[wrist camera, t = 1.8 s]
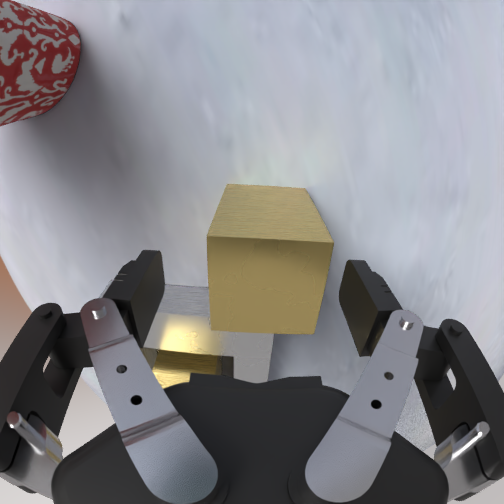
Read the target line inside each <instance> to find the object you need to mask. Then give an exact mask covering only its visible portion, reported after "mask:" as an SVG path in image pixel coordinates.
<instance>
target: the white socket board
mask: <svg viewBox="0 0 504 504" xmlns="http://www.w3.org/2000/svg"><path fill="white" fill-rule="evenodd" d="M112 282H113V280H111V281H110V282H109V284H108V285H107V286H106V288H105V289H104V291H103V292H102V294H101V295H100V296H99V298H102V297H103V295H104V294H105V292H106V291H107V289H108V288H109V286H110V285H111V283H112ZM273 338H274V334H270V333H246V332H228V331H214V330H211V323H210V305H209V288H203V287H188V286H175V285H165V291H164V295H163V298H162V300H161V303H160V305H159V308H158V310H157V313H156V315H155V318H154V320H153V323H152V325H151V328H150V331H149V333H148V336H147V338H146V341H145V344H144V346H143V349H142V348H140V350H141V352H142V354H143V355H144V357H145V359H146V361H147V363H148V365H149V366H150V368H151V370H153V367H154V364H155V361H156V358H157V352H156V349H161V350H169V351H178V352H187V353H197V354H208V355H220V356H234V378H235V379H239V380H243V381H247V382H252V383H263V382H267V380H268V373H269V367H270V360H271V353H272V345H273Z"/></svg>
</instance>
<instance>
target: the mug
mask: <svg viewBox="0 0 504 504" xmlns="http://www.w3.org/2000/svg"><path fill="white" fill-rule="evenodd" d="M80 45H81V43H80V37H79V34H78V31H77V29H76V28H75V26H74V25H73V24H72V23H71V22H69V21H67V20H65V19H63V18H61V17H58V16H56V15H53V14H50V13H47V12H44V11H42V10H39V9H36V8H33V7H30V6H27V5H24V4H21V3H18V2H15V1H11V0H0V126H3V125H6V124H9V123H12V122H16V121H19V120H24V119H28V118H31V117H34V116H37V115H40V114H43V113H45V112H47V111H48V110H50V109H51V108H52V107H53V106H55V105H56V104H57V103H58V102H59V101H60V99H61V98H62V97H63V96H64V94H65V93H66V91H67V90H68V88H69V86H70V85H71V83H72V81H73V79H74V76H75V73H76V70H77V67H78V64H79V59H80Z"/></svg>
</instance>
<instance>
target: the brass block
mask: <svg viewBox="0 0 504 504" xmlns="http://www.w3.org/2000/svg"><path fill="white" fill-rule="evenodd" d="M333 246H334V242H333V240H332V238H331V236H330V234H329V232H328V230H327V228H326V226H325V224H324V222H323V220H322V218H321V216H320V215H319V213H318V211H317V209H316V207H315V205H314V203H313V202H312V200H311V198H310V196H309V194H308V192H307V191H306V189H305V188H292V187H277V186H260V185H239V184H227V185H226V188H225V190H224V193H223V195H222V198H221V200H220V203H219V205H218V208H217V210H216V213H215V216H214V218H213V221H212V223H211V226H210V229H209V231H208V234H207V261H208V285H209V305H210V323H211V330H214V331H228V332H246V333H270V334H314V331H315V327H316V323H317V319H318V315H319V311H320V307H321V302H322V298H323V294H324V289H325V285H326V280H327V275H328V271H329V266H330V261H331V256H332V251H333Z"/></svg>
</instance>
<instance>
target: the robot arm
mask: <svg viewBox="0 0 504 504" xmlns="http://www.w3.org/2000/svg"><path fill="white" fill-rule="evenodd" d="M164 291H165V279H164V271H163V263H162V255H161V252H160V251H155V250H143V251H142V252H141V253H140V255H139V256H138V258H137V259H136V261H132V260H131V261H130V262H129V263H127V264H126V265H124V266H123V267H122V268H121V270H120V271H119V273H118V275H117V276H116V277H115V279H114V280H113V282H112V283H111V285H110V286H109V288H108V289H107V291H106V292H105V294H104V295H103V297H102V298H97V299H93V300H91V301H89V302H87V303H86V304H85V305H84V306H83V307H82V309H81V311H80V312H79V313H70V314H63V312H62V309H61V307H60V306H59V305H58V304H56V303H46V304H43V305H41V306H39V307H38V308H36V309H35V310H34V311H33V312H32V314H31V315H30V317H29V318H28V320H27V321H26V323H25V324H24V326H23V327H22V329H21V330H20V332H19V333H18V334H17V336H16V338H15V339H14V341H13V342H12V344H11V345H10V347H9V349H8V350H7V352H6V354H5V355H4V357H3V359H2V360H1V362H0V477H1V478H3V479H4V480H6V481H8V482H9V483H11V484H13V485H16V486H17V487H19V488H21V489H23V490H24V491H26V492H28V493H39V494H41V495H43V496H45V497H48V498H50V499H52V500H53V501H54V504H447V502H449V501H451V500H458V501H462V500H465V499H467V498H469V497H471V496H473V495H475V494H476V493H478V492H480V491H482V490H483V489H485V488H487V487H488V486H490V485H491V484H493V483H495V482H496V481H498V480H499V479H501V478H502V477H504V393H503V390H502V388H501V387H500V385H499V383H498V381H497V379H496V377H495V375H494V373H493V371H492V370H491V368H490V366H489V364H488V362H487V361H486V359H485V357H484V355H483V354H482V352H481V350H480V349H479V347H478V345H477V344H476V342H475V341H474V339H473V337H472V336H471V334H470V333H469V331H468V329H467V328H466V327H465V326H464V325H463V324H462V323H460V322H458V321H456V320H453V319H446V320H444V321H443V322H442V323H441V325H440V327H439V329H437V328H432V327H426V326H423V322H422V320H421V319H420V318H419V317H418V316H417V315H416V314H414V313H412V312H410V311H407V310H403V309H402V307H401V306H400V304H399V302H398V301H397V299H396V298H395V296H394V294H393V293H391V290H390V288H389V287H388V285H387V284H386V282H385V280H384V279H383V278H382V277H381V276H380V275H378V274H377V273H376V272H372V271H371V269H370V267H369V266H368V264H367V263H366V261H364V260H348V261H347V263H346V266H345V270H344V274H343V278H342V282H341V286H340V290H339V302H340V305H341V307H342V310H343V313H344V315H345V318H346V321H347V323H348V326H349V329H350V331H351V334H352V337H353V339H354V342H355V345H356V348H357V351H358V353H359V356H360V357H361V356H370V357H371V358H370V360H369V362H368V364H367V366H366V368H365V370H364V371H363V373H362V375H361V377H360V379H359V381H358V383H357V384H356V386H355V388H354V390H353V391H352V393H351V395H350V396H349V395H348V394H346V393H344V392H342V391H340V390H338V389H335V388H332V387H328V386H324V385H322V381H321V376H308V377H287V378H282V379H278V380H273V381H268V382H263V383H252V382H247V381H243V380H239V379H235V378H231V377H228V376H224V375H213V374H200V373H191V374H190V379H189V382H184V383H179V384H175V385H172V386H169V387H167V388H164V389H162V387H161V385H160V384H159V382H158V380H157V379H156V377H155V375H154V373H153V372H152V370H151V368H150V366H149V365H148V363H147V361H146V359H145V357H144V355H143V354H142V352H141V350H140V348H142V349H143V346H144V344H145V341H146V338H147V336H148V333H149V331H150V328H151V325H152V323H153V320H154V318H155V315H156V313H157V310H158V308H159V305H160V303H161V300H162V298H163V295H164ZM48 356H49V357H50V358H51V359H50V361H49V363H48V365H47V367H46V369H45V371H44V373H43V367H44V364H45V362H46V360H47V358H48ZM84 367H94V369H95V372H96V375H97V378H98V381H99V384H100V386H101V389H102V392H103V394H104V397H105V399H106V402H107V404H108V407H109V409H110V411H111V414H112V416H113V419H114V421H115V424H113V425H112V426H110V427H109V428H108V429H106V430H105V431H103V432H102V433H100V434H99V435H97V436H96V437H95V438H93V439H92V440H90V441H89V442H87V443H86V444H84V445H83V446H81V447H80V448H78V449H77V450H76V451H74V452H72V453H71V454H69V455H68V456H67V457H65V458H64V459H63V456H62V452H63V450H62V444H61V442H60V440H59V438H58V435H59V432H60V429H61V426H62V423H63V420H64V417H65V414H66V411H67V409H68V406H69V403H70V400H71V398H72V395H73V392H74V390H75V387H76V384H77V382H78V379H79V377H80V374H81V372H82V370H83V368H84ZM450 368H451V370H452V372H453V374H454V376H455V378H456V387H455V390H453V388H452V385H451V383H450V381H449V379H448V377H447V372H448V371H449V369H450ZM413 378H414V380H415V383H416V385H417V388H418V391H419V394H420V396H421V399H422V402H423V405H424V408H425V411H426V414H427V417H428V420H429V423H430V426H431V429H432V432H433V436H434V439H435V442H436V446H437V448H436V450H435V454H434V460H433V459H432V458H430V457H429V456H428V455H426V454H425V453H424V452H422V451H421V450H420V449H418V448H417V447H415V446H414V445H413V444H411V443H410V442H409V441H407V440H406V439H405V438H404V437H402V436H401V435H400V434H398V433H397V432H396V431H394V430H395V427H396V425H397V423H398V420H399V417H400V415H401V412H402V410H403V407H404V404H405V401H406V399H407V396H408V393H409V390H410V387H411V384H412V381H413Z"/></svg>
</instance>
